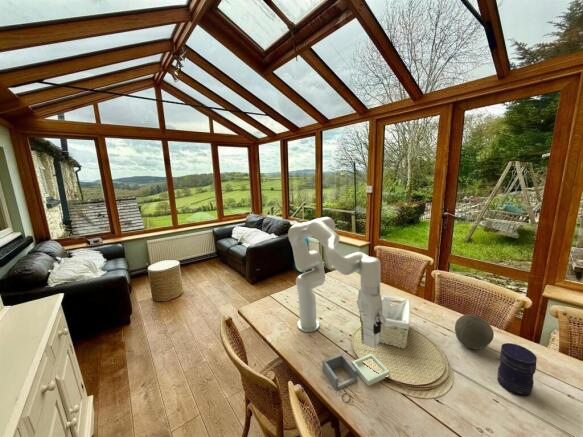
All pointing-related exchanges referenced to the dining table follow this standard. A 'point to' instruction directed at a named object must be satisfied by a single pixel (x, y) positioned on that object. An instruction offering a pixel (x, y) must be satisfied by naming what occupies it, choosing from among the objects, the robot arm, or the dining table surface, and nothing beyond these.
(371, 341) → the syrup box
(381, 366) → the tray
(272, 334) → the dining table surface
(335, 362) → the bay
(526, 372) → the storage jar
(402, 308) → the storage basket
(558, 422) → the dining table surface
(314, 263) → the robot arm
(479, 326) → the grey oval rock
